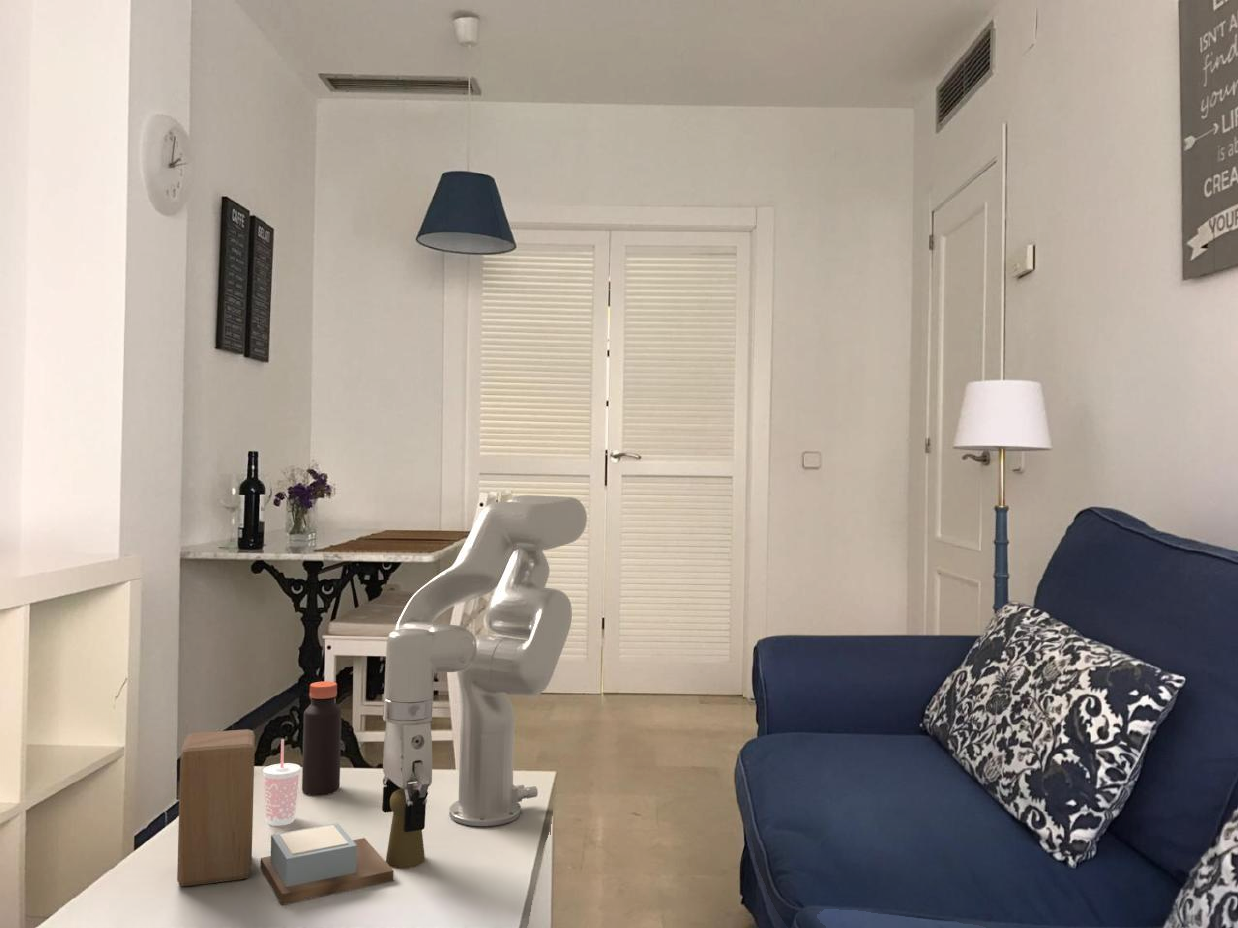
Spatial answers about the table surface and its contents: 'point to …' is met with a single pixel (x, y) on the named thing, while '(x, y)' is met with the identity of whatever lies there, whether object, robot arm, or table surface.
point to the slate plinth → (313, 854)
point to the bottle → (321, 741)
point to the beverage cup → (281, 791)
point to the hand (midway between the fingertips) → (402, 820)
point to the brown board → (367, 874)
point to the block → (216, 807)
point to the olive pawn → (403, 837)
